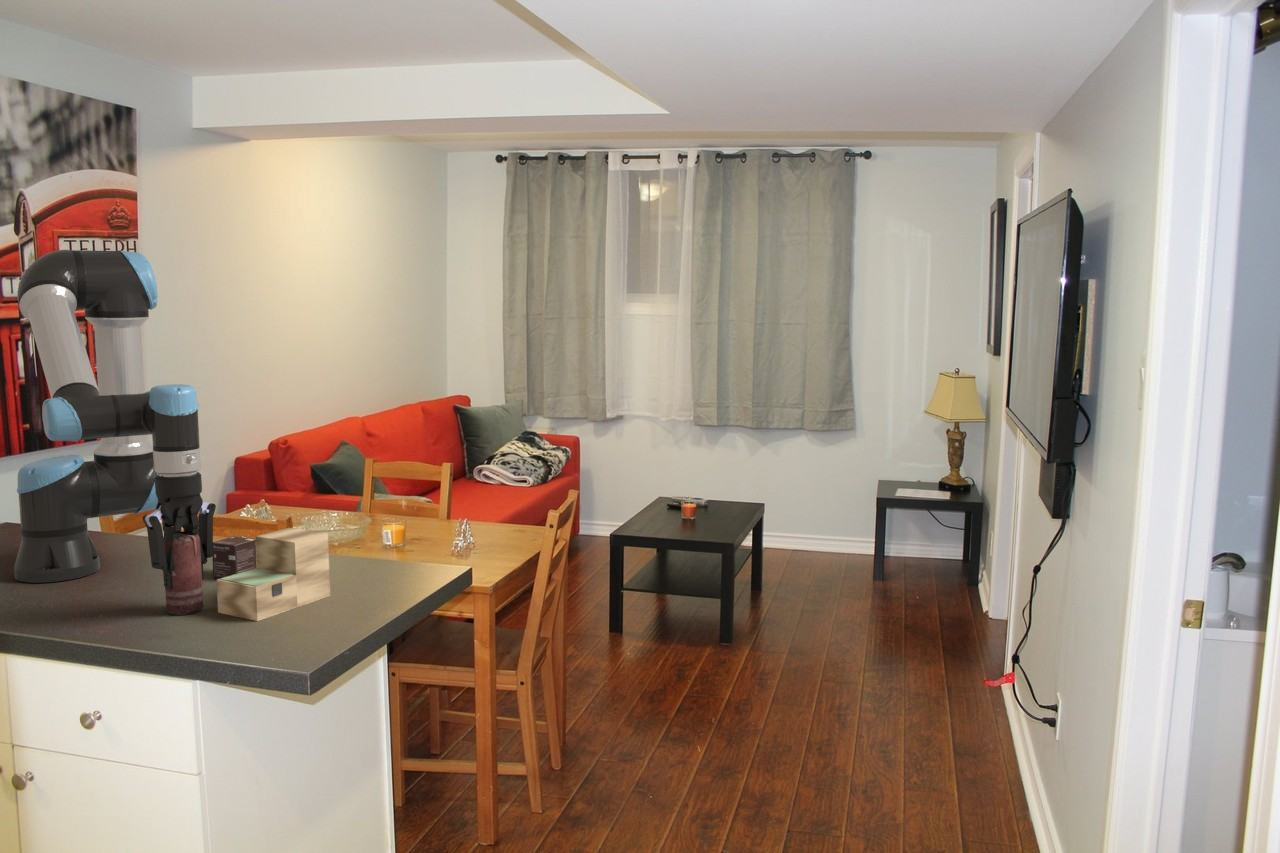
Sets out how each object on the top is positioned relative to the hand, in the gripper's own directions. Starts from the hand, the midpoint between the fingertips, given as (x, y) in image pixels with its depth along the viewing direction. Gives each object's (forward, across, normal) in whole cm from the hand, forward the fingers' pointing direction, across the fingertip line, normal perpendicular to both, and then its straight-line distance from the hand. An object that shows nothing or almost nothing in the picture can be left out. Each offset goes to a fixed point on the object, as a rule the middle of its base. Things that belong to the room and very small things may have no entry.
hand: (185, 602), depth 184 cm
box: (+2, +20, +11) cm, 23 cm away
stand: (+2, +11, -11) cm, 16 cm away
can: (+2, 0, 0) cm, 2 cm away
